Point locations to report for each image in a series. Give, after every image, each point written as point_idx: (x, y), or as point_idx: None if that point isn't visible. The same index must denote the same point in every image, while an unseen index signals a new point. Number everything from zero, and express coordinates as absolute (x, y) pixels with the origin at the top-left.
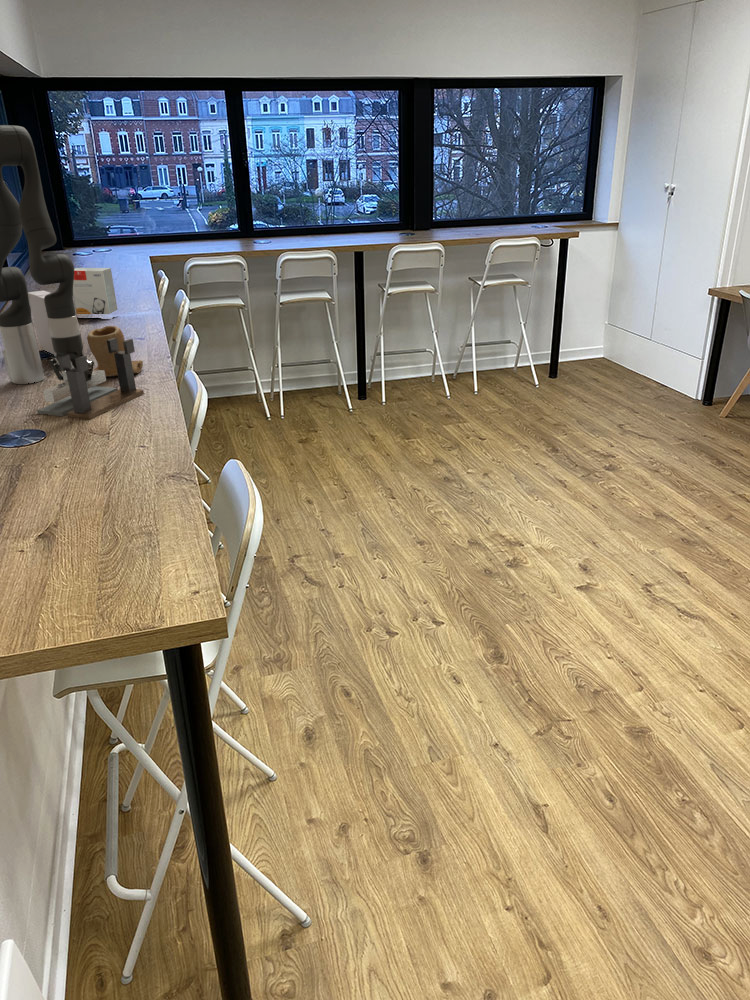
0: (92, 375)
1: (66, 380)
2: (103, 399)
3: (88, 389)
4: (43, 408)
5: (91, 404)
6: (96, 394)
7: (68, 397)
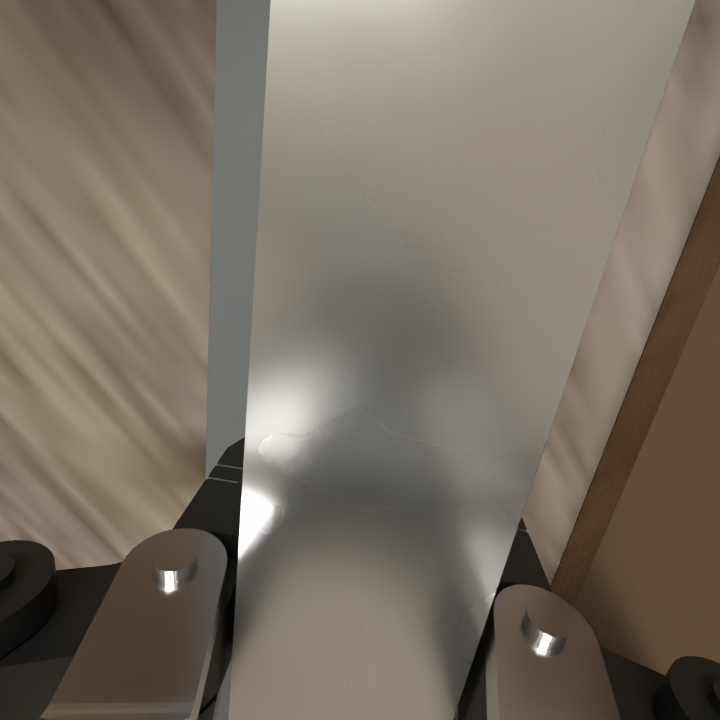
0: (600, 266)
1: (201, 710)
2: (713, 488)
3: (254, 37)
4: (221, 696)
5: (630, 629)
6: None
7: (222, 423)
